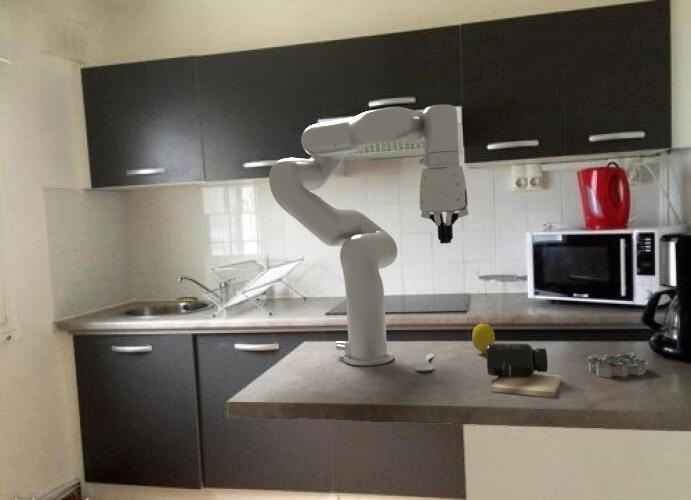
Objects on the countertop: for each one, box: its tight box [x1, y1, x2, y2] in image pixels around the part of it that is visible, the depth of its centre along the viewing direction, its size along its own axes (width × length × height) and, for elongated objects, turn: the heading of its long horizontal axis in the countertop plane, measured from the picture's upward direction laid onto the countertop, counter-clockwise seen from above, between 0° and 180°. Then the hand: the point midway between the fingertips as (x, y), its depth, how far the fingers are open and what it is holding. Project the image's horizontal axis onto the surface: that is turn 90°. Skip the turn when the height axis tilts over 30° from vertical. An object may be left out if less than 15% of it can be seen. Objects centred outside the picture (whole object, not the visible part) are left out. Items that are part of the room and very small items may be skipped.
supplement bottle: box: [486, 342, 549, 377], centre depth 117 cm, size 7×7×12 cm
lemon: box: [471, 321, 496, 355], centre depth 139 cm, size 6×6×8 cm
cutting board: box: [490, 373, 562, 398], centre depth 113 cm, size 12×11×1 cm
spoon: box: [415, 353, 435, 373], centre depth 135 cm, size 4×21×2 cm, turn 165°
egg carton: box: [586, 351, 650, 379], centre depth 119 cm, size 11×8×4 cm
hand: (445, 242), depth 126 cm, fingers closed
